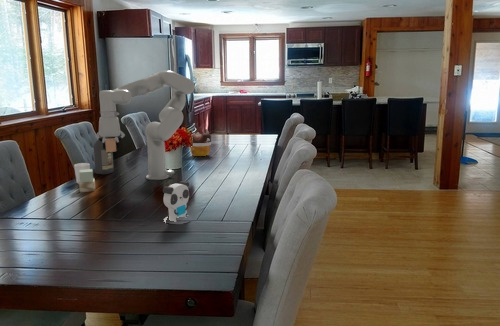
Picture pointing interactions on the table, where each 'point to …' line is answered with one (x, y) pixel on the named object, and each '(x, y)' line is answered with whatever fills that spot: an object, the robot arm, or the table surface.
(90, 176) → the sage top block
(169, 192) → the panda figurine
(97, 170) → the liquor
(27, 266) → the table surface
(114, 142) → the terracotta block
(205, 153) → the bucket of meat
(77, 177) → the white cup
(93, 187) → the beech base block
